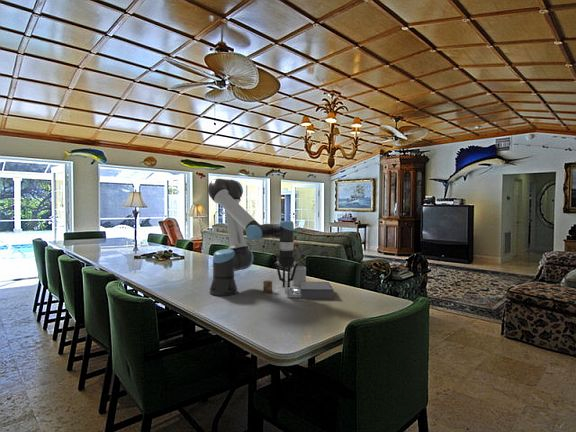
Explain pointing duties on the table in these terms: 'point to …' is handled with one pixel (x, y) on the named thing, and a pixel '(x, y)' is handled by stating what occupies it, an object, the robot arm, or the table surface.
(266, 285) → the brown rounded cylinder
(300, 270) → the mug
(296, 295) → the tray
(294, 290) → the disc
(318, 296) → the housing
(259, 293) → the table surface
